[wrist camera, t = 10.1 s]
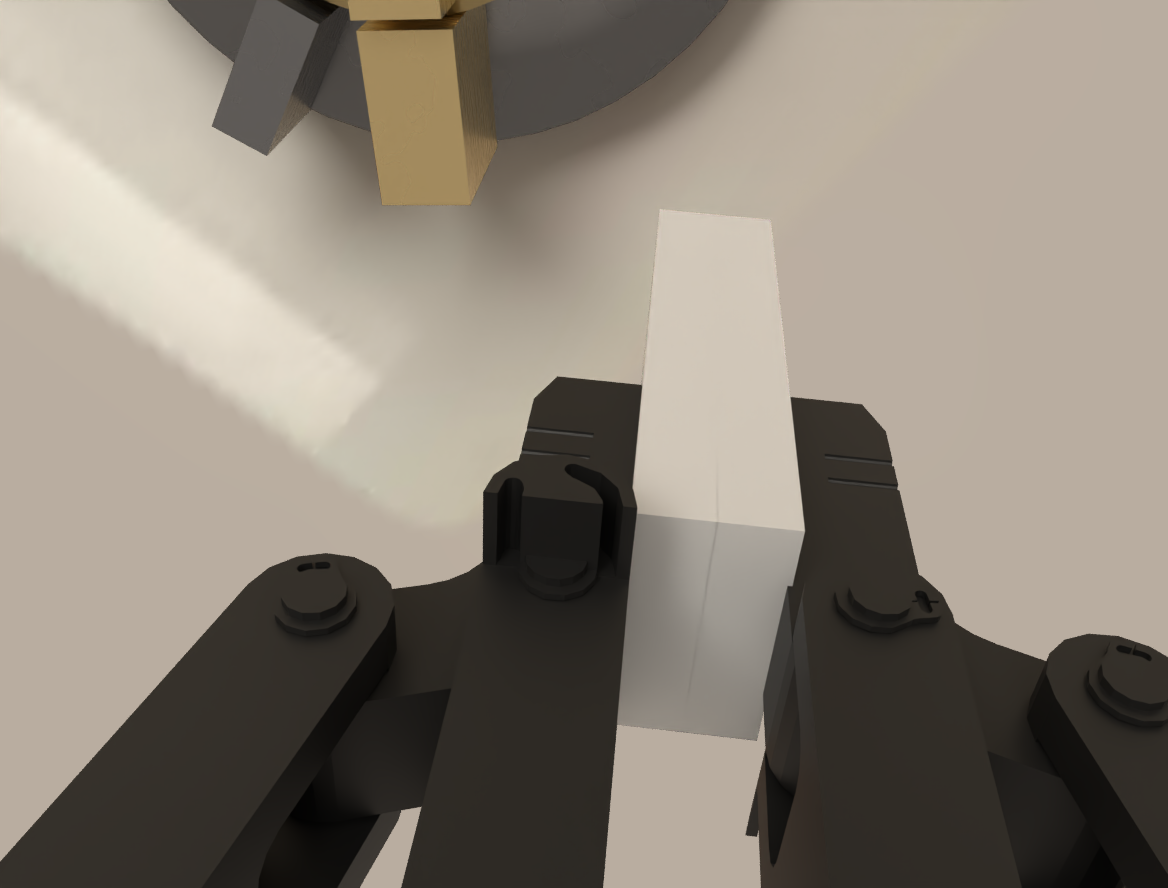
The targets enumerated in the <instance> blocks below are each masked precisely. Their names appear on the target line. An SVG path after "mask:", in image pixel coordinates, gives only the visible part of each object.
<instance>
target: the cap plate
mask: <svg viewBox="0 0 1168 888" xmlns="http://www.w3.org/2000/svg"><path fill="white" fill-rule="evenodd" d="M727 1H728V0H493V1H491V2H488V3H486V4H485V7H486V19H487V31H488V43H489V54H490V66H491V78H492V90H493V102H494V114H495V125H496V137H497V140H502V139H508V138H513V137H519V136H524V135H529V134H535V133H539V132H542V131H545V130H548V129H551V128H554V127H557V126H560V125H563V124H566V123H569V122H572V121H575V120H578V119H580V118H582V117H584V116H586V115H588V114H590V113H593V112H595V111H597V110H599V109H601V108H603V107H605V106H607V105H609V104H611V103H613V102H615V101H617V100H619V99H620V98H622V97H623V96H625V95H626V94H628V93H629V92H631V91H632V90H634V89H635V88H637V87H638V86H640V85H641V84H643V83H644V82H646V81H648V80H649V79H651V78H652V77H654V76H655V75H656V74H657V73H658V72H659V71H661V70H662V69H663V68H664V67H665V66H666V65H668V64H669V63H670V62H671V61H672V60H673V59H675V58H676V57H677V56H678V55H679V54H680V53H681V52H683V51H684V50H685V49H686V48H687V47H688V46H690V44H691V43H692V42H693V41H694V40H695V39H696V38H697V37H698V35H699V34H700V33H701V32H702V31H703V30H704V29H705V28H706V27H707V25H708V24H709V23H710V22H711V21H712V20H713V19H714V18H715V17H716V15H717V14H718V13H719V12H720V11H721V10H722V8H723V7H724V6H725V4H726V3H727ZM168 2H169V3H170V4H171V5H172V6H173V7H174V8H175V9H176V10H177V11H178V12H179V13H180V14H181V15H182V16H183V17H184V18H185V19H186V20H187V21H188V22H189V23H190V24H191V25H192V26H193V27H194V28H195V29H196V30H197V31H198V32H199V33H200V34H201V35H202V36H203V37H204V38H205V39H206V40H207V41H208V42H209V43H211V44H212V45H213V46H214V47H216V48H217V49H218V50H219V51H221V52H222V53H223V54H224V55H226V56H227V57H228V58H229V59H231V60H232V61H233V62H234V65H233V68H232V71H231V74H230V77H229V79H228V82H227V85H226V88H225V91H224V93H223V96H222V99H221V102H220V105H219V107H218V110H217V113H216V116H215V119H214V121H213V124H212V127H214V128H216V129H218V130H220V131H222V132H223V133H225V134H227V135H229V136H231V137H233V138H235V139H236V140H238V141H240V142H242V143H244V144H246V145H248V146H249V147H251V148H253V149H255V150H257V151H259V152H261V153H262V154H264V155H266V156H267V155H268V154H269V153H270V152H271V151H272V150H273V149H274V148H275V147H276V146H277V145H278V144H279V143H280V142H281V141H282V139H283V138H284V137H285V136H286V135H287V134H288V133H289V132H290V131H291V130H292V129H293V128H294V127H295V126H296V125H297V124H298V123H299V122H300V121H301V120H302V119H303V117H304V116H305V115H306V114H307V113H308V112H309V111H310V110H311V109H312V110H314V111H316V112H318V113H321V114H323V115H325V116H327V117H330V118H333V119H336V120H338V121H341V122H344V123H347V124H350V125H353V126H356V127H359V128H362V129H365V130H368V131H371V127H370V120H369V113H368V106H367V100H366V93H365V86H364V80H363V73H362V66H361V60H360V53H359V46H358V39H357V33H356V31H357V30H358V29H359V28H360V27H361V26H362V25H363V24H364V23H365V22H366V21H367V20H353V21H351V20H350V13H349V9H347V8H344V7H341V6H338V5H335V4H332V3H329V2H327V1H325V0H168Z"/></svg>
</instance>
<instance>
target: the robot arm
mask: <svg viewBox="0 0 1168 888" xmlns="http://www.w3.org/2000/svg"><path fill="white" fill-rule="evenodd" d="M897 487H898V482H897V478H896V474H895V469H894V466H892V457H891V452H890V448H889V443H888V439H887V435H886V431H885V430H884V429H883V428H882V427H881V426H880V424H879V423H877V421H876V420H875V419H874V418H873V417H872V415H871V414H870V413H869V412H868V411H867V410H866V409H865V408H864V406H863V405H862V404H852V403H843V402H833V401H824V400H814V399H804V398H794V397H790V390H789V380H788V371H787V362H786V353H785V345H784V335H783V326H782V317H781V307H780V299H779V289H778V280H777V271H776V262H775V253H774V243H773V234H772V225H771V220H769V219H759V218H748V217H738V216H727V215H716V214H706V213H695V212H685V211H674V210H664V209H660V212H659V221H658V231H657V240H656V249H655V259H654V268H653V278H652V287H651V296H650V306H649V315H648V325H647V334H646V343H645V353H644V362H643V371H642V381H641V385H636V384H626V383H616V382H606V381H597V380H587V379H577V378H567V377H557V378H555V379H554V380H553V381H552V382H551V383H550V384H549V385H548V386H547V387H546V388H545V389H544V390H543V391H542V392H541V393H540V394H538V395H537V396H536V397H535V398H534V401H533V405H532V409H531V413H530V417H529V421H528V425H527V432H526V434H525V438H524V442H523V446H522V453H521V454H520V458H519V461H515V462H513V463H511V464H510V465H508V466H507V467H505V468H504V469H502V470H500V471H499V472H497V473H496V474H494V475H493V477H492V479H491V480H490V482H489V483H488V485H487V487H486V488H485V490H484V492H483V562H482V563H480V564H479V565H477V566H476V567H475V568H473V569H472V570H470V571H469V572H467V573H464V574H462V575H459V576H457V577H455V578H452V579H450V580H447V581H442V582H437V583H433V584H428V585H421V586H413V587H406V588H398V589H392V588H391V584H390V583H389V582H388V581H387V579H386V578H385V577H384V576H383V575H382V574H381V572H380V571H379V570H378V569H377V568H376V567H374V566H372V565H369V564H367V563H365V562H363V561H361V560H359V559H357V558H355V557H349V556H341V555H335V554H328V553H325V554H316V555H308V556H299V557H295V558H292V559H290V560H287V561H285V562H282V563H280V564H277V565H274V566H272V567H270V568H268V569H267V570H266V571H264V572H263V573H262V574H261V575H259V576H258V577H257V578H255V579H254V580H253V581H252V582H250V583H249V584H248V585H247V586H246V587H245V588H244V589H243V590H242V592H241V593H240V594H239V595H238V596H237V597H236V598H235V600H234V601H233V602H232V603H231V604H230V605H229V606H228V607H227V609H225V611H224V612H223V613H222V614H221V615H220V616H219V617H218V618H217V620H216V621H215V622H214V623H213V624H212V625H211V626H210V627H209V629H208V630H207V631H206V632H205V633H204V634H203V635H202V636H201V637H200V639H199V640H198V641H197V642H196V643H195V644H194V645H193V646H192V648H191V649H190V650H189V651H188V652H187V653H186V654H185V655H184V657H183V658H182V659H181V660H180V661H179V662H178V663H177V664H176V666H175V667H174V668H173V669H172V670H171V671H170V672H169V673H168V674H167V676H166V677H165V678H164V679H163V680H162V681H161V682H160V683H159V685H158V686H157V687H156V688H155V689H154V690H153V691H152V692H151V694H150V695H149V696H148V697H147V698H146V699H145V700H144V701H143V702H142V704H141V705H140V706H139V707H138V708H137V709H136V710H135V711H134V713H133V714H132V715H131V716H130V717H129V718H128V719H127V720H126V722H125V723H124V724H123V725H122V726H121V727H120V728H119V729H118V730H117V732H116V733H115V734H114V735H113V736H112V737H111V738H110V740H109V741H108V742H107V743H106V744H105V745H104V746H103V747H102V748H101V749H100V751H99V752H98V753H97V754H96V755H95V756H94V757H93V758H92V760H91V761H90V762H89V763H88V764H87V765H86V766H85V767H84V769H83V770H82V771H81V772H80V773H79V774H78V775H77V776H76V777H75V779H74V780H73V781H72V782H71V783H70V784H69V785H68V786H67V788H66V789H65V790H64V791H63V792H62V793H61V794H60V795H59V796H58V798H57V799H56V800H55V801H54V802H53V803H52V804H51V805H50V807H49V808H48V809H47V810H46V811H45V812H44V813H43V814H42V816H41V817H40V818H39V819H38V820H37V821H36V822H35V823H34V824H33V826H32V827H31V828H30V829H29V830H28V831H27V832H26V833H25V835H24V836H23V837H22V838H21V839H20V840H19V841H18V842H17V843H16V845H15V846H14V847H13V848H12V849H11V850H10V851H9V852H8V854H7V855H6V856H5V857H4V858H3V859H2V860H1V861H0V888H360V886H361V884H362V883H363V881H364V879H365V877H366V875H367V874H368V872H369V870H370V869H371V867H372V865H373V863H374V862H375V860H376V858H377V856H378V855H379V853H380V851H381V849H382V848H383V846H384V844H385V842H386V841H387V839H388V837H389V835H390V834H391V832H392V830H393V828H394V827H395V825H396V823H397V821H398V819H399V816H400V813H401V810H405V809H411V808H417V807H422V808H421V812H420V816H419V819H418V824H417V827H416V831H415V835H414V839H413V843H412V847H411V851H410V855H409V859H408V863H407V867H406V871H405V875H404V879H403V883H402V887H401V888H603V881H604V869H605V858H606V846H607V835H608V834H607V833H608V823H609V812H610V800H611V788H612V777H613V765H614V753H615V742H616V730H617V725H625V726H634V727H642V728H652V729H660V730H668V731H677V732H686V733H694V734H703V735H712V736H720V737H730V738H738V739H747V740H756V741H757V738H758V733H759V729H760V724H761V720H762V716H763V712H764V725H765V744H766V745H765V746H766V749H765V753H764V758H763V762H762V766H761V770H760V774H759V779H758V783H757V787H756V791H755V795H754V799H753V803H752V808H751V812H750V816H749V821H748V826H747V831H746V835H747V836H756V837H757V834H758V830H759V849H760V875H761V888H1168V657H1166V656H1165V655H1163V654H1161V653H1160V652H1158V651H1156V650H1154V649H1153V648H1151V647H1149V646H1146V645H1143V644H1140V643H1137V642H1134V641H1131V640H1128V639H1125V638H1122V637H1119V636H1110V635H1097V634H1086V635H1082V636H1078V637H1074V638H1070V639H1066V640H1064V641H1063V642H1062V643H1061V644H1059V645H1058V646H1057V647H1056V648H1055V649H1054V650H1053V651H1052V652H1051V653H1050V654H1049V656H1048V659H1047V661H1044V660H1041V659H1038V658H1035V657H1032V656H1029V655H1027V654H1023V653H1021V652H1018V651H1014V650H1012V649H1009V648H1006V647H1003V646H1000V645H997V644H995V643H993V642H990V641H988V640H986V639H983V638H981V637H979V636H976V635H974V634H972V633H970V632H969V631H967V630H965V629H964V628H962V627H961V626H959V625H958V624H956V623H955V622H954V618H953V614H952V612H951V610H950V609H949V607H948V605H947V603H946V601H945V599H944V597H943V595H942V594H941V593H940V592H939V591H938V590H937V589H936V588H934V587H933V586H932V585H931V584H930V583H929V582H928V581H927V580H926V579H924V578H923V577H922V576H920V575H919V574H918V569H917V565H916V561H915V556H914V553H913V548H912V543H911V539H910V535H909V530H908V526H907V521H906V518H905V513H904V508H903V505H902V500H901V495H900V491H899V490H897Z"/></svg>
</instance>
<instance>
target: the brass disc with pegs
mask: <svg viewBox="0 0 1168 888" xmlns="http://www.w3.org/2000/svg"><path fill="white" fill-rule="evenodd" d="M325 1H327V2H329V3H332V4H335V5H338V6H341V7H344V8H347V9H349V13H350V20H351V21H353V20H367V21H366V22H365V23H364V24H363V25H362V26H361V27H360V28H359V29H358V30H357V31H356V33H357V39H358V46H359V53H360V60H361V66H362V73H363V80H364V86H365V93H366V100H367V106H368V113H369V120H370V127H371V133H372V140H373V147H374V153H375V160H376V167H377V173H378V180H379V187H380V194H381V200H382V205H470V204H471V202H472V200H473V198H474V196H475V194H476V192H477V189H478V187H479V185H480V183H481V181H482V179H483V176H484V174H485V172H486V170H487V168H488V166H489V163H490V161H491V159H492V157H493V155H494V153H495V150H496V148H497V137H496V125H495V114H494V102H493V90H492V78H491V66H490V54H489V43H488V31H487V19H486V7H485V4H486V3H488V2H491V1H493V0H325Z"/></svg>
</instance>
